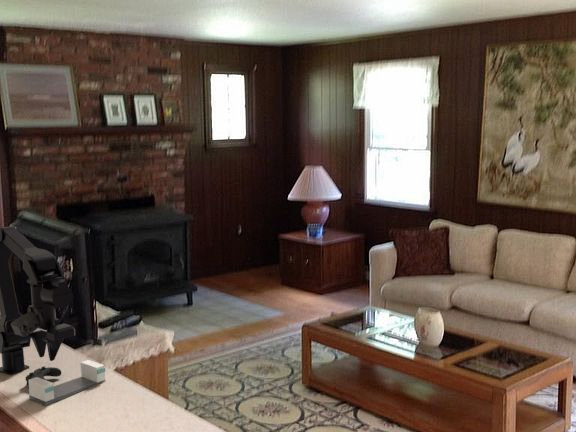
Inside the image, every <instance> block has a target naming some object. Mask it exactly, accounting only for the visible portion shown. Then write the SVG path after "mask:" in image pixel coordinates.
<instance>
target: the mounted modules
mask: <svg viewBox="0 0 576 432" xmlns="http://www.w3.org/2000/svg"><path fill="white" fill-rule="evenodd" d="M105 373H106V367H105V364H102V363H99V362H96V361H93V360H90V359H87V360H84V361H80V374H81V375H80V377H84V378H86V379H89V380H92V381H95V382H100V381H103V380H105V381H106V374H105ZM54 386H55V385H54V383H53V382H52V381H49V380H46V379H45V380H44V379H41V378H38V377H35V378H32V379H29V385H28V391H29V395H31V396H33V397H35V398H38V399H40V400H43V401H45V402H46V401H49V400H52V399H54Z"/></svg>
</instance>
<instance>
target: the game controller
mask: <svg viewBox="0 0 576 432" xmlns="http://www.w3.org/2000/svg"><path fill="white" fill-rule="evenodd" d="M61 375H62V370H61V369H60V368H58V367H53V366H52V367H46V366H44V365H43V366H41V368H40V367H39V368H36V369H35V370H33V371H31V372H29V373H28V374H27V375H26V376H25V377H24V378H25V381H26V386H29V379H32V378H35V377H38V378H41V379H44V380H46V378H45V377H61Z"/></svg>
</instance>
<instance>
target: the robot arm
mask: <svg viewBox="0 0 576 432" xmlns="http://www.w3.org/2000/svg"><path fill="white" fill-rule="evenodd" d="M13 254H14V255H16V257H18V259H19V260H21V262H22V270H23V271H24V272H25V274H26V275H27V277H28V279H27V280H26V282H27V283H28V284H30V285H29V286H30V295H31V296H30V297H31V305H28V307H27V313H25V314H21V312H20V309H19V304H18V299H17V295H16V291H15V285H14V280H13V276H12V270H11V265H10V260H11V258H12V256H13ZM73 300H74V293H73V291H72V289H71V288H70V287H69V286H68V285H66V281H65V276H64V271H63V269H62V267H61V265H60V263H59V262H58V260H57V257H56V256H55V255H54V254H53V253H52V252H51V251H48V250H47V249H43V248H38V247H37V246H35V245H34V244H33V243H32V242H31V241H30V240H29V239H27V237H26V236H24V235H23V234H22V233H21V232H20V230H19V228H18V227H17V226H14V225H11V226H10V225H9V226H4V227H3V226H2V227H0V355H1V366H0V372H1V373H4V374H6V375H13V374H16V373H19V372H21V371H25V370H29V369H30V366H29V365H27V364H25V354H24V348H28V347H29V348H30V347H31V341H32V342H33V344H34V347H35V349H36V351H37V354H38V356H39V358H44V357H45V353H46V348H47V352H48V359H49V361H50V362H52V361H55V359H56V357H57V354H58V352H59V350H60V348H61V346H62V343H63V341H64V340H65V339H69V338H72V337H75V336H76V329H75V327H74V326H73V325H70V324H67V323H61V324H60V319H59V318H57V316H56V309H65V308H67V307H69V306H70V304H72V302H73Z"/></svg>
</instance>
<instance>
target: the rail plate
mask: <svg viewBox="0 0 576 432" xmlns="http://www.w3.org/2000/svg"><path fill="white" fill-rule="evenodd" d="M105 382H106V379H105V380H103V381H100V382H95V381H92V380H89V379H86V378H84V377H81V376H78V377H76V378H74V379H70V380H68V381H66V382H63V383H60V384H56V385H53V386H54V399H52V400H49V401H46V402H45V401H43V400H40V399H38V398H35V397H33V396H31V395H29V397H28V398H29V400H31V401H34V402H35V403H38V404H40V405H43V406H48V405H51V404H54V403H57V402H59V401H62V400H64V399H66V398H69V397H72V396H73V395H76V394H78V393H80V392H83V391H85V390H87V389H90V388H93V387H95V386H97V385H100V384H102V383H105Z"/></svg>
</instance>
